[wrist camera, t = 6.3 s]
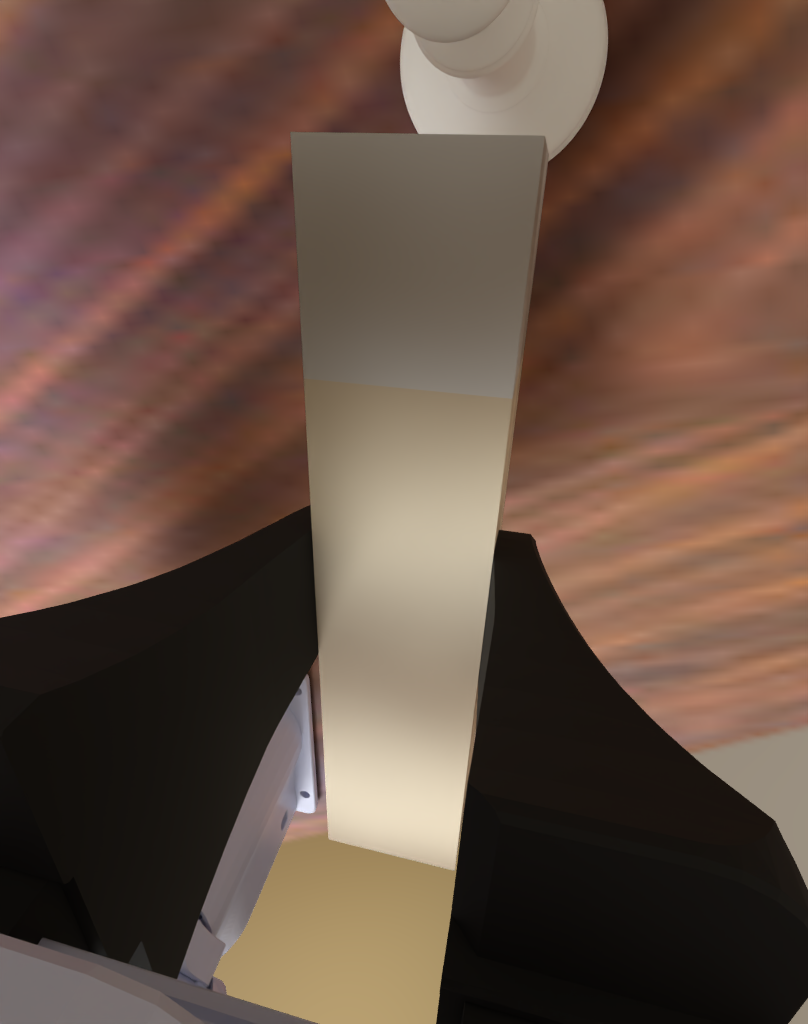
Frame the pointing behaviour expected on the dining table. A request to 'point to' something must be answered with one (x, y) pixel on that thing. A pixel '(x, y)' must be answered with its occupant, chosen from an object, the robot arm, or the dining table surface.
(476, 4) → the chess piece
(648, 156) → the dining table surface
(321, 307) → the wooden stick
